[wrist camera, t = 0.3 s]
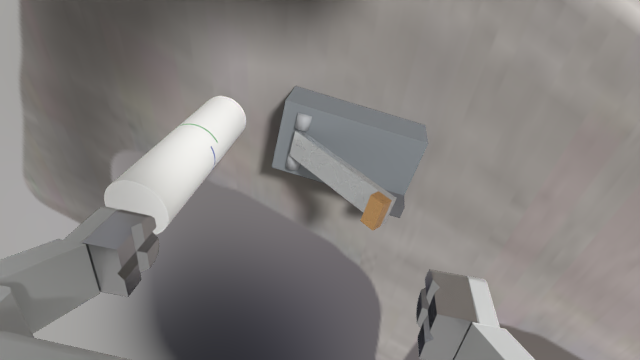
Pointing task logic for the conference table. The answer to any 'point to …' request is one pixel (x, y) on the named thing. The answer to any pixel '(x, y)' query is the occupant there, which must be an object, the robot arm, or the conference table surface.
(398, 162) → the clamp block
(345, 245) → the conference table surface
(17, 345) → the robot arm
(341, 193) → the lever
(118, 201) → the cylindrical container
